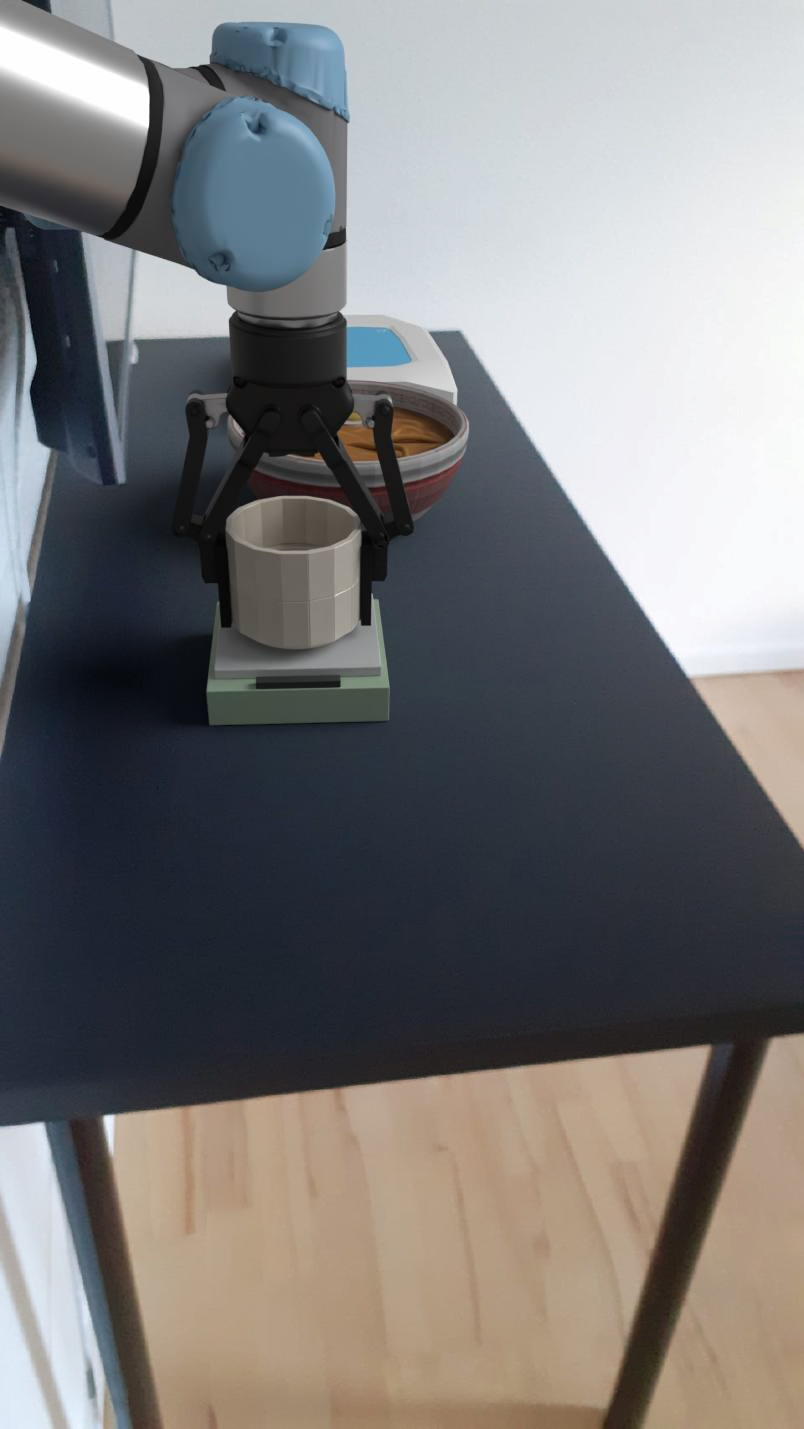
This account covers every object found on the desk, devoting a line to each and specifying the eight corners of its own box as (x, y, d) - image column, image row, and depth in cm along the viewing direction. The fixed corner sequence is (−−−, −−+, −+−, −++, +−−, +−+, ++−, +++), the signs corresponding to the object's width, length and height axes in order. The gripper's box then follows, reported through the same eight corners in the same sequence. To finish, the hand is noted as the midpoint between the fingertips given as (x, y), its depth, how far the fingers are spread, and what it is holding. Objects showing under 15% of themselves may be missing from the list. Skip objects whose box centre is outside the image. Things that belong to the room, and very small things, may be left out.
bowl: (265, 462, 118) (261, 371, 113) (473, 480, 116) (480, 388, 110) (203, 555, 100) (194, 451, 94) (449, 579, 97) (455, 474, 92)
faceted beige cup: (229, 655, 77) (221, 554, 73) (235, 591, 85) (229, 495, 80) (363, 653, 78) (364, 553, 73) (357, 589, 86) (357, 495, 81)
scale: (209, 725, 78) (205, 682, 76) (219, 633, 89) (216, 592, 86) (388, 721, 79) (390, 677, 77) (377, 630, 90) (378, 589, 87)
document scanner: (277, 437, 124) (275, 383, 121) (262, 362, 147) (260, 315, 143) (456, 431, 128) (459, 378, 124) (414, 358, 150) (416, 312, 147)
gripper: (454, 298, 73) (438, 592, 85) (116, 294, 71) (151, 595, 84) (469, 329, 66) (449, 641, 79) (99, 326, 65) (140, 646, 77)
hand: (296, 617), depth 81 cm, fingers closed on faceted beige cup, 10 cm apart
